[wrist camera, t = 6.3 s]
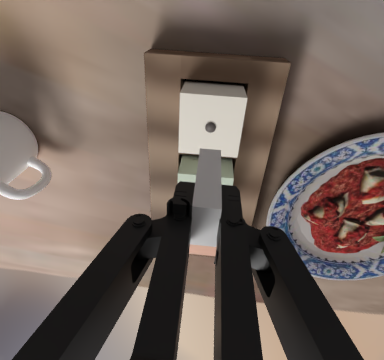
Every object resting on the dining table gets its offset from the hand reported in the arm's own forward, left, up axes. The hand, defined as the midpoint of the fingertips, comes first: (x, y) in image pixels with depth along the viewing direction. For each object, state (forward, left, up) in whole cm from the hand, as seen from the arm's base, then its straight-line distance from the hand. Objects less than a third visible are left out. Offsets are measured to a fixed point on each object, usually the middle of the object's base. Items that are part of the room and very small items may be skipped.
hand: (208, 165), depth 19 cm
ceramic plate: (+13, +22, -14) cm, 29 cm away
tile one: (0, 0, -11) cm, 11 cm away
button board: (+8, 0, -14) cm, 16 cm away
